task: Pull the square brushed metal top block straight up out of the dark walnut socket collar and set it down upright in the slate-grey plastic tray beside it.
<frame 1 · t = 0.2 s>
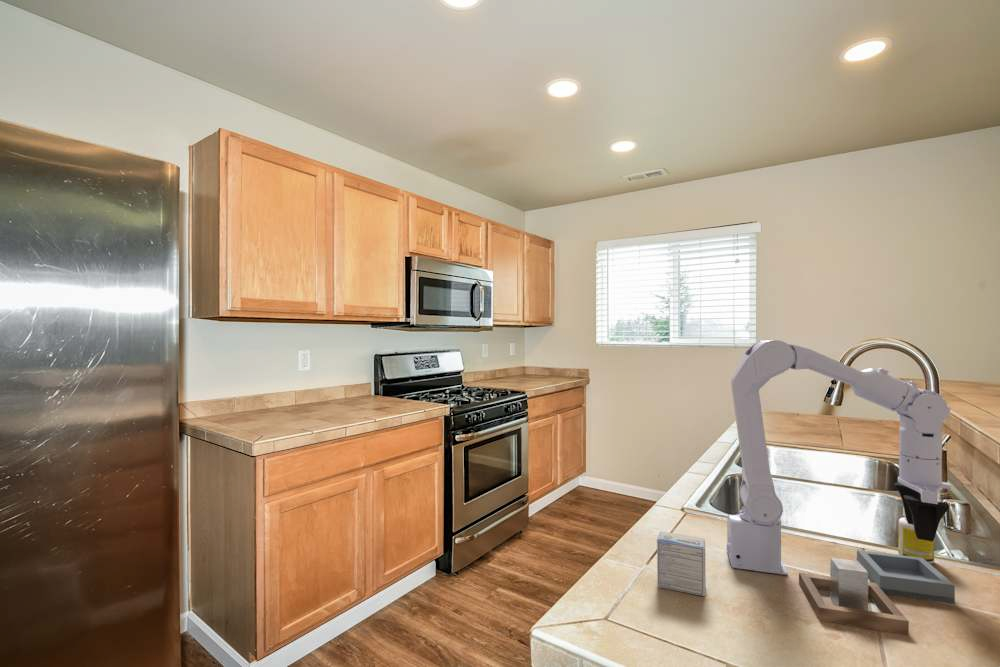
hand: (919, 531, 85), 10 cm above the counter, tool pointing down, fingers open, 7 cm apart
tray: (902, 582, 86), on the counter
supplement bottle: (916, 560, 96), on the counter
socket block: (848, 606, 79), on the counter
brushed metal top block: (848, 585, 79), in the socket block
medicine box: (681, 587, 85), on the counter
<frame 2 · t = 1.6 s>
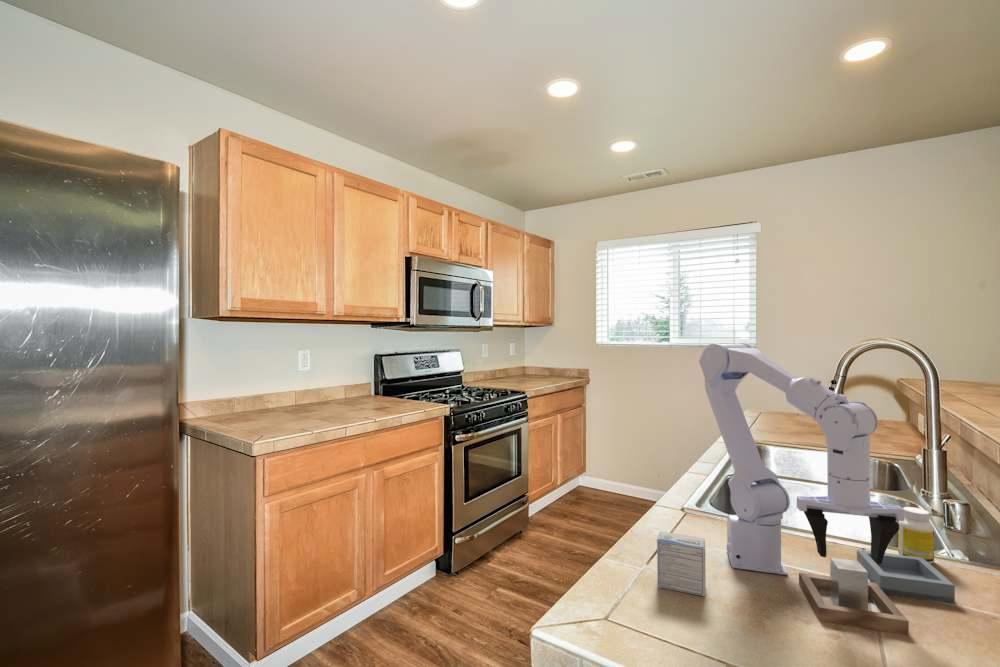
hand: (848, 557, 79), 8 cm above the counter, tool pointing down, fingers open, 7 cm apart
nothing on the counter moved.
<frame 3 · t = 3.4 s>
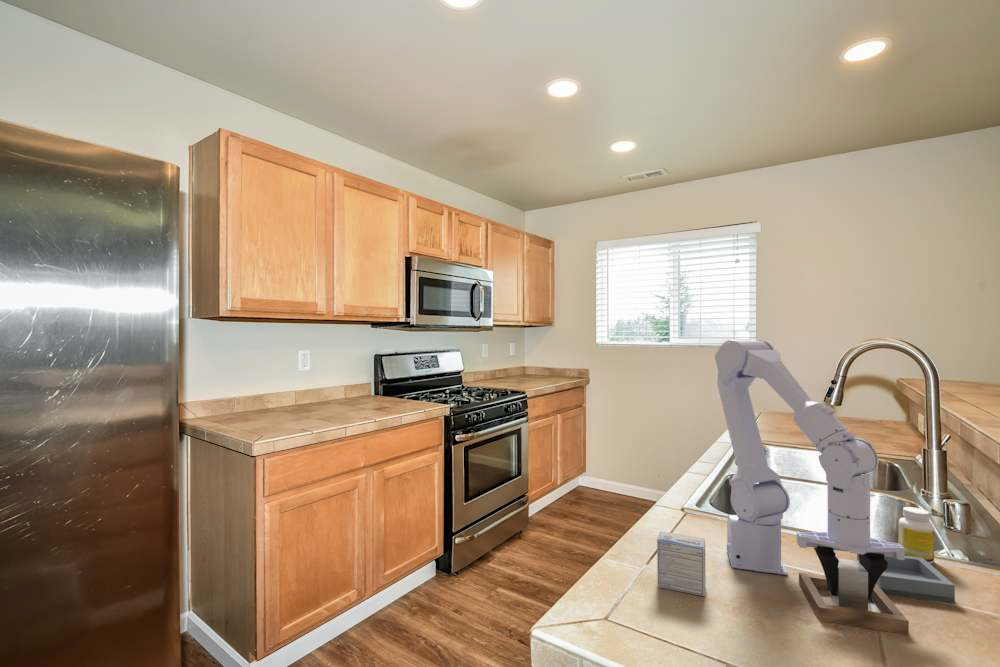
hand: (848, 595, 79), 2 cm above the counter, tool pointing down, fingers closed on brushed metal top block, 4 cm apart
brushed metal top block: (848, 585, 79), in the socket block, touching gripper
everything else where it was.
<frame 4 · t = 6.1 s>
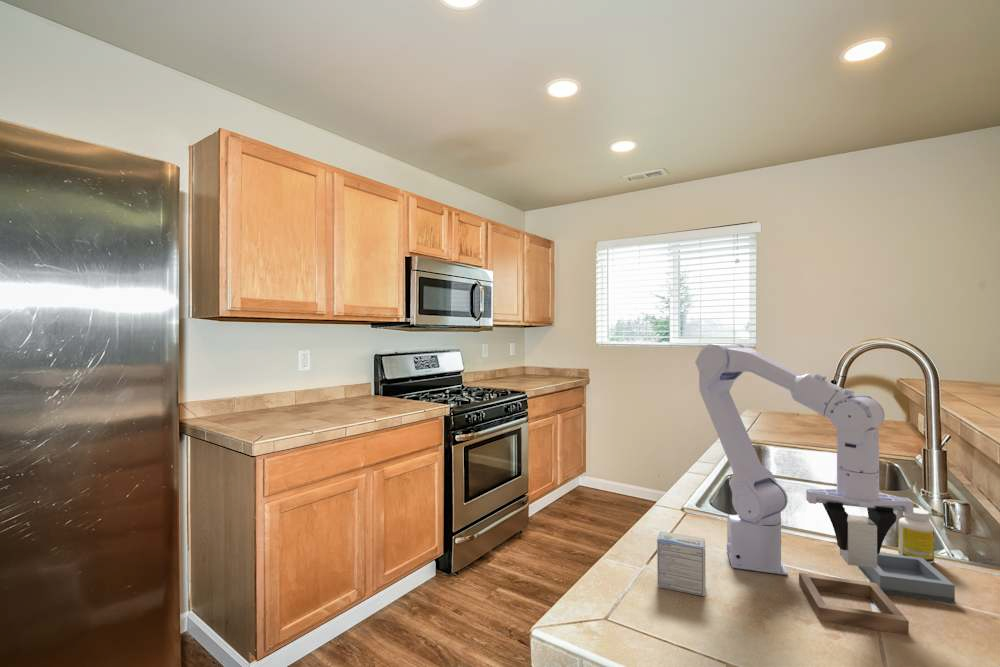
hand: (857, 549, 80), 9 cm above the counter, tool pointing down, fingers closed on brushed metal top block, 4 cm apart
brushed metal top block: (857, 540, 80), point 10 cm above the counter, touching gripper
everything else where it was.
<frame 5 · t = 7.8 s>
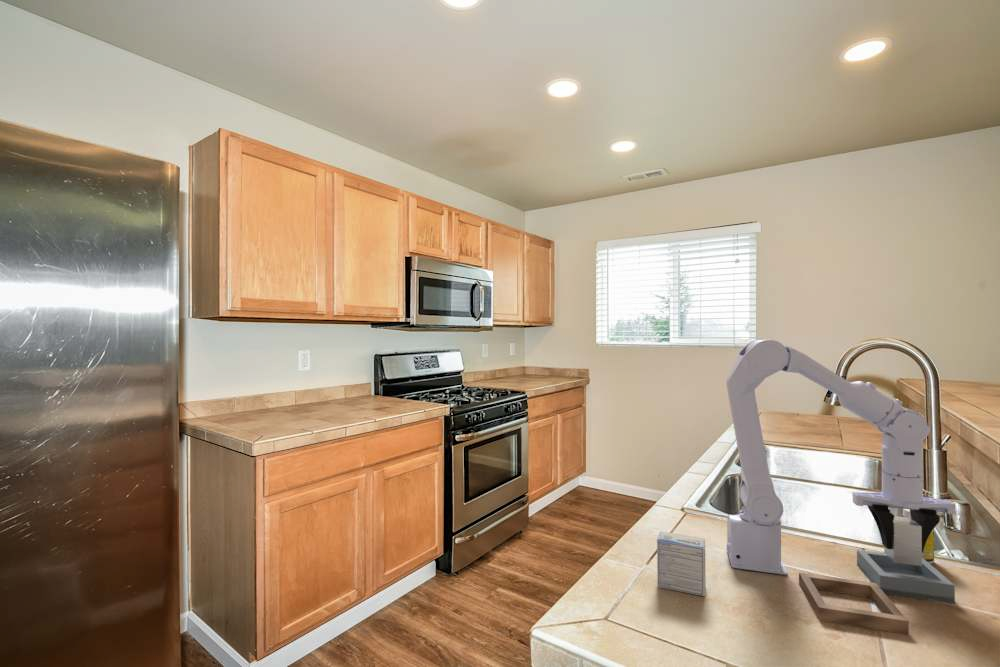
hand: (902, 548, 86), 6 cm above the counter, tool pointing down, fingers closed on brushed metal top block, 4 cm apart
brushed metal top block: (902, 539, 86), point 8 cm above the counter, touching gripper
everything else where it was.
when the fingers open (4 cm above the counter, at t = 9.1 s): brushed metal top block drops 1 cm, resting on tray.
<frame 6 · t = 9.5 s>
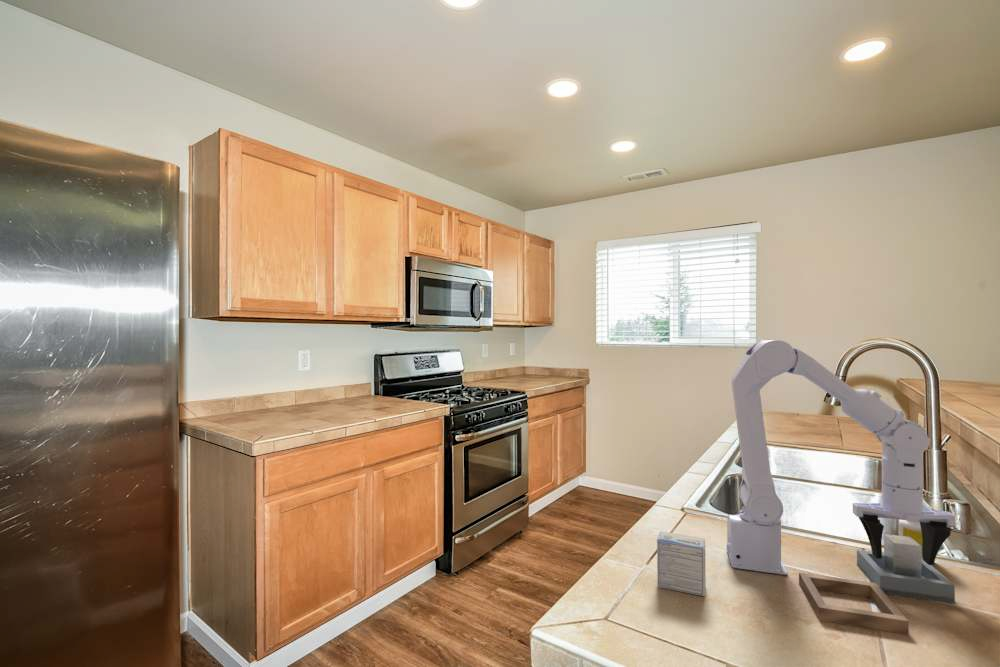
hand: (902, 559, 86), 4 cm above the counter, tool pointing down, fingers open, 7 cm apart
brushed metal top block: (902, 559, 86), in the tray, point 4 cm above the counter
everything else where it was.
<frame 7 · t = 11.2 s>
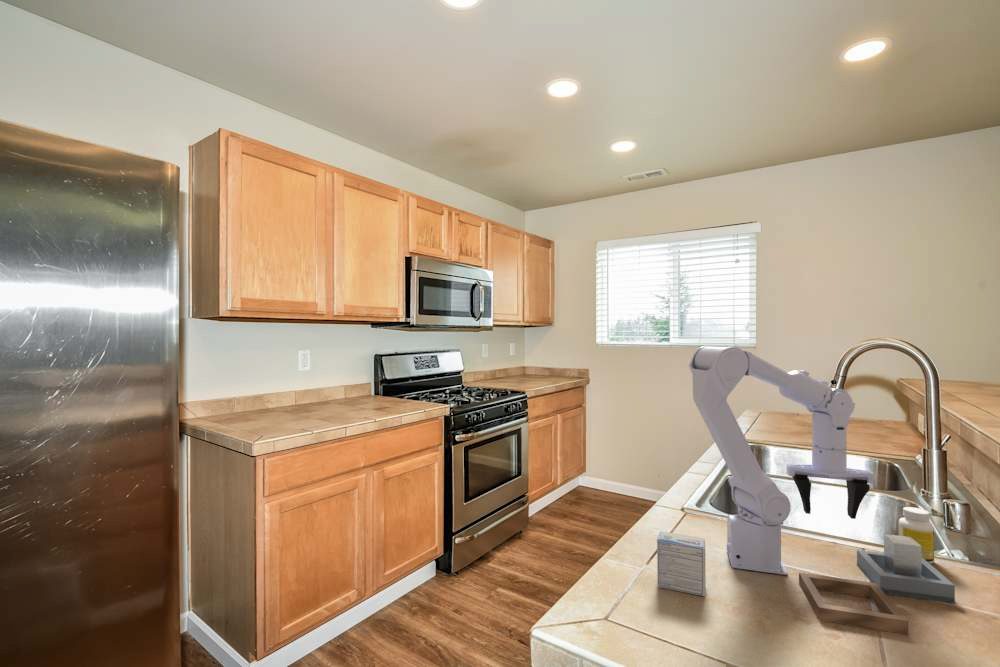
hand: (829, 514, 96), 9 cm above the counter, tool pointing down, fingers open, 7 cm apart
nothing on the counter moved.
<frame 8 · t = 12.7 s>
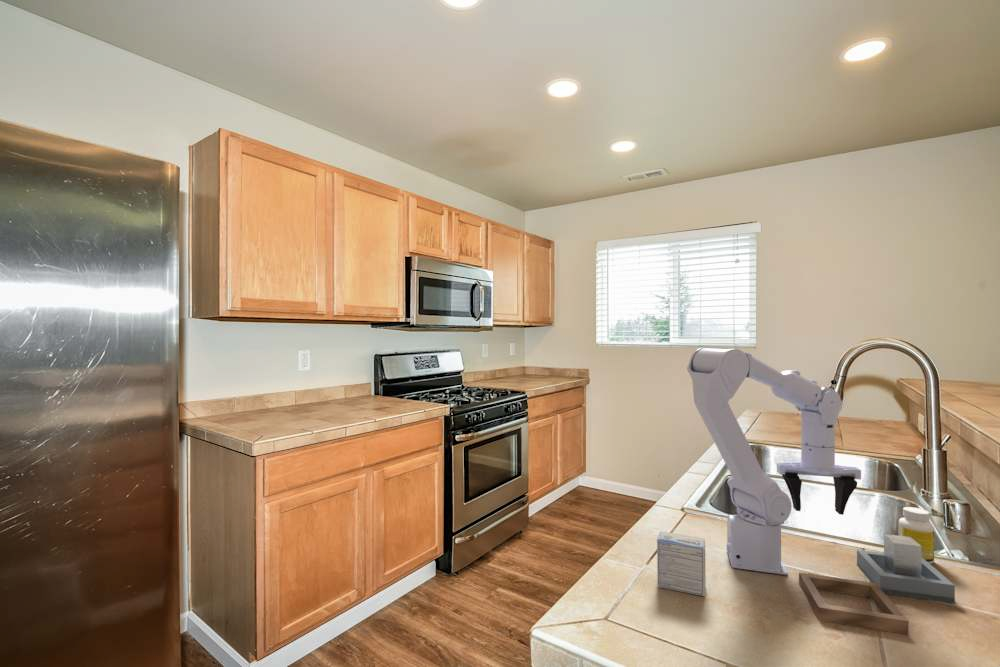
hand: (817, 511, 98), 9 cm above the counter, tool pointing down, fingers open, 7 cm apart
nothing on the counter moved.
at the end: brushed metal top block 0.1 cm off-centre on the tray, point 4.3 cm above the tray's base; brushed metal top block tilted 0°; the gripper is holding nothing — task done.
